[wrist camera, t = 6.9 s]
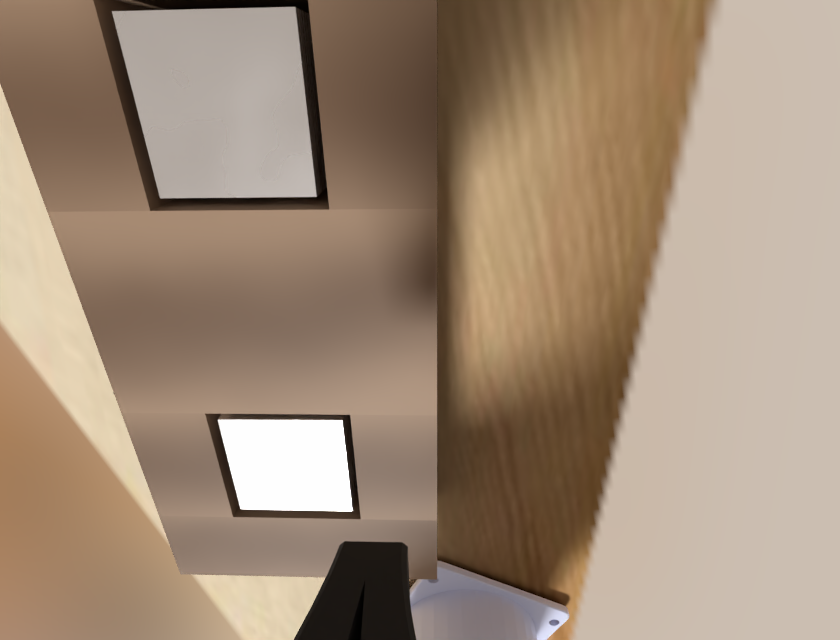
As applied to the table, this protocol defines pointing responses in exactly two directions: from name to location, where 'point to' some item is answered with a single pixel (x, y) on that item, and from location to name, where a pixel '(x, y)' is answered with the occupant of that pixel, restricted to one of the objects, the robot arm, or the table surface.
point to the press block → (253, 276)
